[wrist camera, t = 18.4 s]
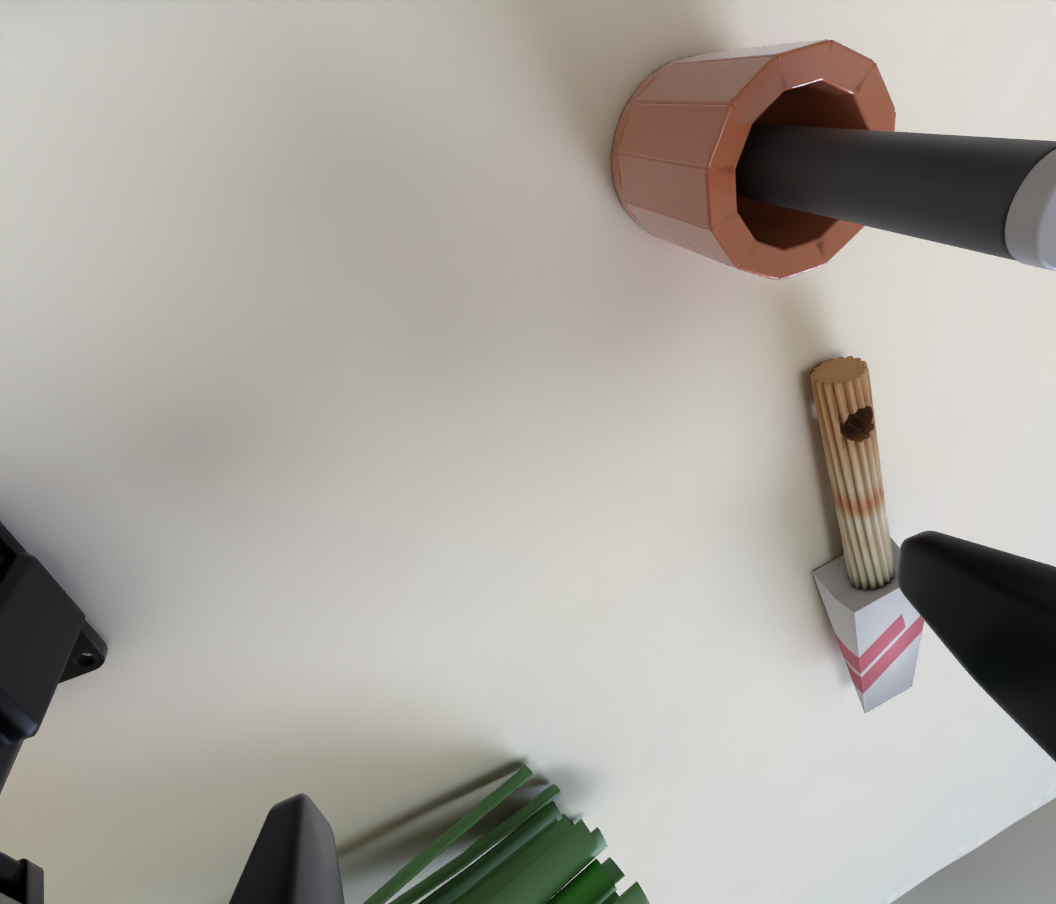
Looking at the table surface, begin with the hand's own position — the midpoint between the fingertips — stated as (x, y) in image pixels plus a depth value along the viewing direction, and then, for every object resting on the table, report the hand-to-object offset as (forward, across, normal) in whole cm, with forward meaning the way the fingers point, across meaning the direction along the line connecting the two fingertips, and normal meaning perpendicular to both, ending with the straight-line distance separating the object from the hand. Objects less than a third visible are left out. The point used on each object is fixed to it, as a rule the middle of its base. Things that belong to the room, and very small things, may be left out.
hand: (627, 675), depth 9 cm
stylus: (+12, -8, -4) cm, 15 cm away
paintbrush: (+12, -14, +14) cm, 23 cm away
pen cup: (+12, -8, -4) cm, 15 cm away
